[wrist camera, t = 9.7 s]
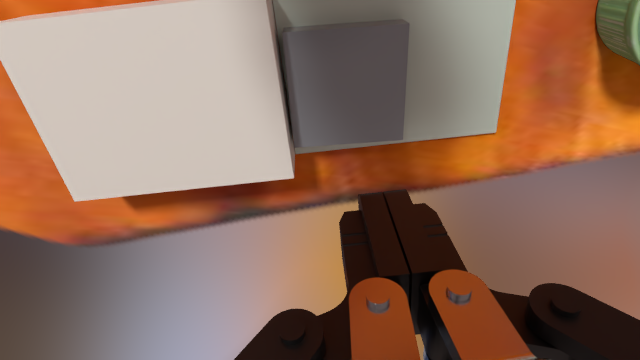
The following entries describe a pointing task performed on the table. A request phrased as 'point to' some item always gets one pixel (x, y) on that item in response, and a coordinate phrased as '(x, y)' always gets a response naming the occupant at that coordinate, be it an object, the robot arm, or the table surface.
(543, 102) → the table surface
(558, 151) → the table surface
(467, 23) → the mat
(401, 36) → the grey block
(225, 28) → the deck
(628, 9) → the ramekin
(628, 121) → the table surface
